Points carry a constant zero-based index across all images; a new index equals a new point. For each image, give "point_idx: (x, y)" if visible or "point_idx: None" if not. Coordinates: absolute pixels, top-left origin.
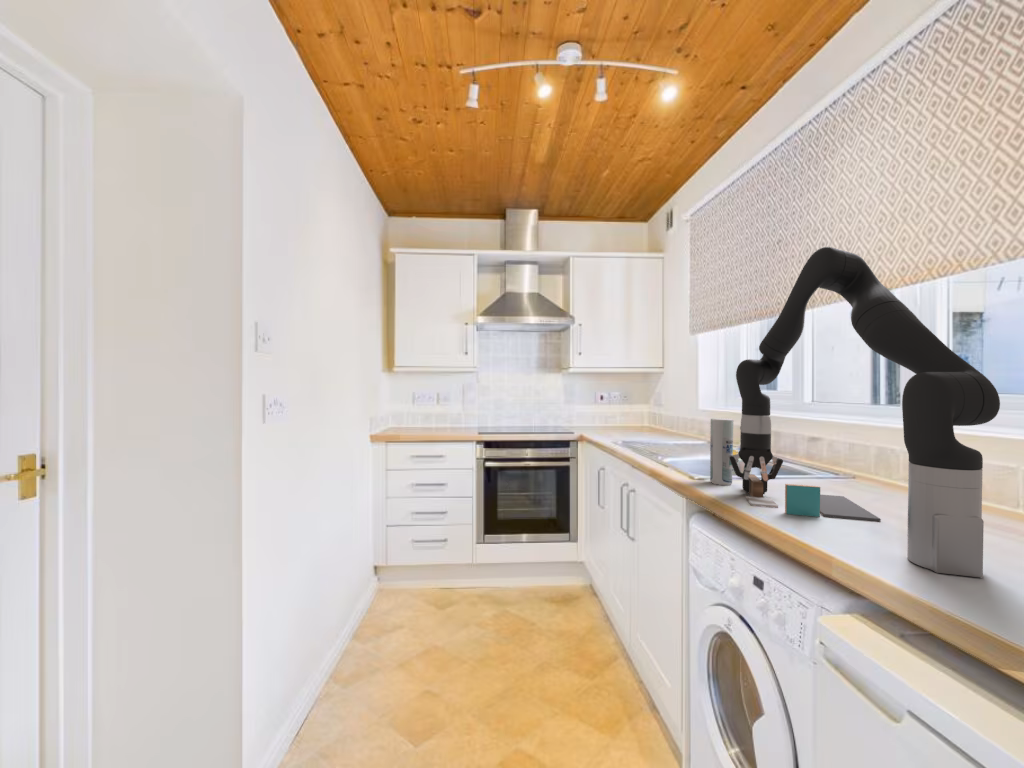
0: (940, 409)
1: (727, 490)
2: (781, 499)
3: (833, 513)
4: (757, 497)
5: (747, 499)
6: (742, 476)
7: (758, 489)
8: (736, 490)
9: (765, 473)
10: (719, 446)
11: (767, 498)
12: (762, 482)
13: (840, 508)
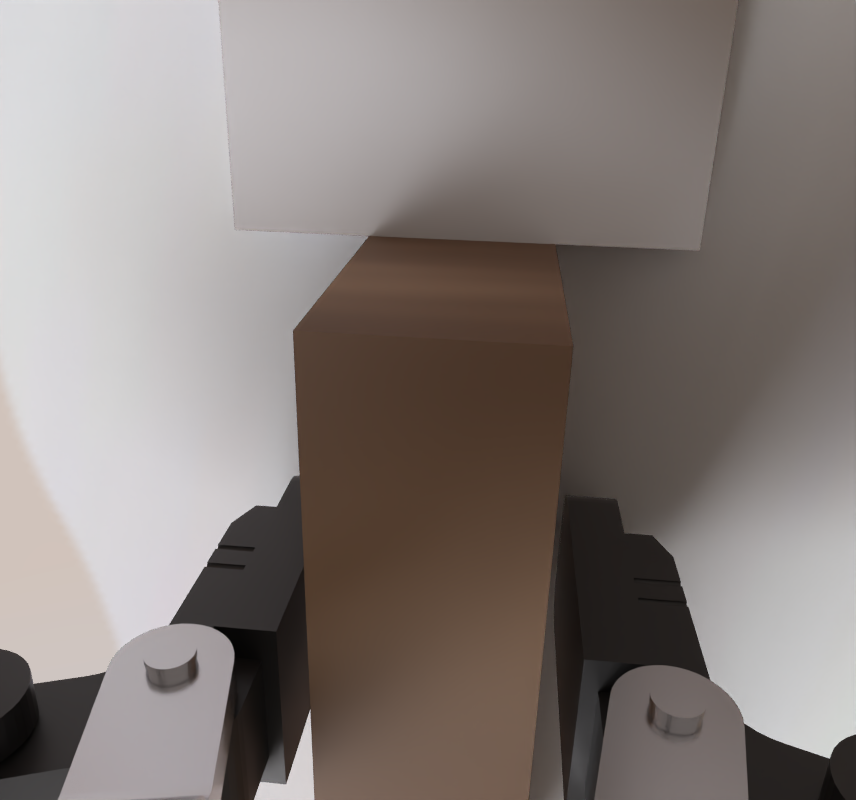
0: None
1: (829, 730)
2: (62, 337)
3: None
4: (483, 198)
5: (729, 25)
6: (765, 767)
7: (442, 280)
8: None
9: (108, 784)
10: None
11: (300, 167)
12: (305, 389)
13: None
